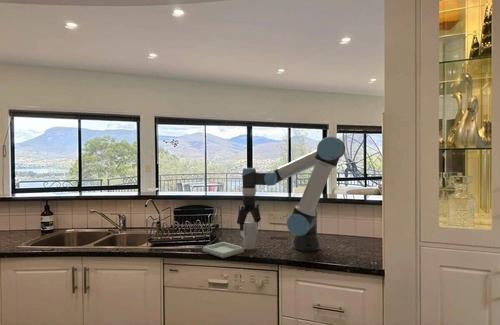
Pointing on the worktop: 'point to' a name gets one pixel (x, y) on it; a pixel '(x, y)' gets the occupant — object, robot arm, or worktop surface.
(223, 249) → the tray
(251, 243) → the coffee cup
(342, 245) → the worktop surface
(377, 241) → the worktop surface
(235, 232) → the worktop surface
